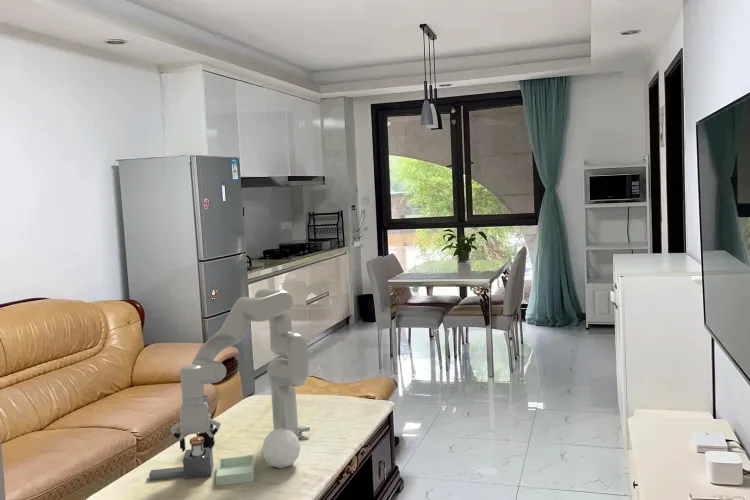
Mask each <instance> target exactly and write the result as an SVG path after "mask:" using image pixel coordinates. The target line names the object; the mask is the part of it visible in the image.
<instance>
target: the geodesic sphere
mask: <svg viewBox="0 0 750 500" xmlns="http://www.w3.org/2000/svg"><path fill="white" fill-rule="evenodd" d="M301 448H302V447H301V444H300V439H298V437H297V436H296V435H295V434H294V433H293V432H292V431H291V430H287V429H285V426H284V429H283V428H280V429H277V430H274V429H273V430H272V431H270V432H269V433H268V434H267V436H266V437H265V438H264V440H263V445H262V454H263V457H264V460H265V461H266V462H267V464H268V465H270V466H271V467H275V468H279V469H283V468H287V467H290V466H292V465H293V464H294V463H295V462H296V461H297V459H298V458H299V455H300V451H301Z"/></svg>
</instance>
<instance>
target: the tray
mask: <svg viewBox="0 0 750 500" xmlns="http://www.w3.org/2000/svg"><path fill="white" fill-rule="evenodd" d="M216 469H217V470H216V475H215V484H216V487H219V486H226V485H235V484H243V483H244V484H245V483H251V482H254V481H255V480H254V479H255V478H254V477H255V455H254V454H251V455H241V456H231V457H223V458H222V457H221V458H218V464H217V468H216Z"/></svg>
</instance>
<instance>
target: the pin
mask: <svg viewBox="0 0 750 500" xmlns="http://www.w3.org/2000/svg"><path fill="white" fill-rule="evenodd" d="M203 442H204V437H201V436H198V437H197V436H193V437H191V438H190V439H189V444H190V448H191V449H192V457H195V456H204V450H203Z"/></svg>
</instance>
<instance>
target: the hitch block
mask: <svg viewBox="0 0 750 500" xmlns="http://www.w3.org/2000/svg"><path fill="white" fill-rule="evenodd" d="M203 450H204V456H195V457H192V449H190V448H189V449H185V451H184V455H183V459H182V466H177V467H169V468H168V467H167V468H161V469H151V470H150V472H149V475H148V477H149V479H148V480H149V481H158V480H165V479H173V478H174V479H175V478H182V477H184V481H185V480H193V479H194V480H195V479H201V478H208V477H209V478H211V477H212V475H213V470H214V455H213V448H212V449H210V448H209V447H208V448H203Z"/></svg>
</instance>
